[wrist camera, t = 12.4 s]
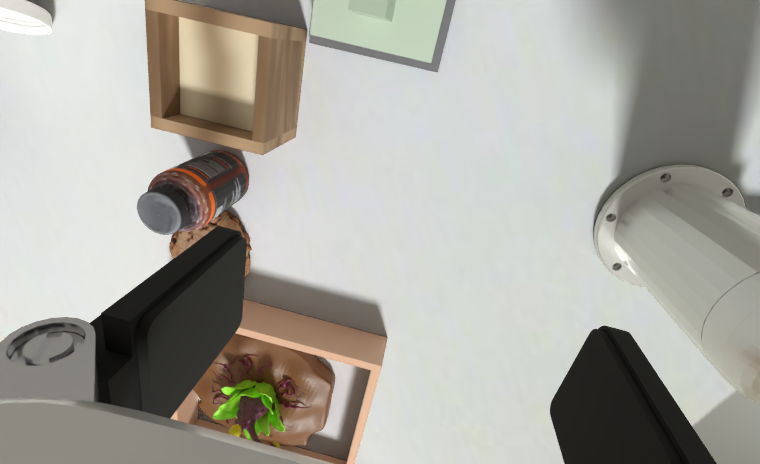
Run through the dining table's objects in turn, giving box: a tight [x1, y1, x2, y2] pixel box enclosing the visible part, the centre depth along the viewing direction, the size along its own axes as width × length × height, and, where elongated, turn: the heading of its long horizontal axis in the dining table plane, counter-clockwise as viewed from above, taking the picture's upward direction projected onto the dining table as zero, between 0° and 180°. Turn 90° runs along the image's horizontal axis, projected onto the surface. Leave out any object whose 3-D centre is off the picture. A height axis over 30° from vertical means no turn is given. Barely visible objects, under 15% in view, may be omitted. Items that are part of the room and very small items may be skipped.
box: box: [145, 0, 307, 155], centre depth 35 cm, size 10×10×8 cm
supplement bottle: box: [137, 151, 249, 235], centre depth 38 cm, size 6×6×11 cm
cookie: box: [170, 210, 252, 277], centre depth 46 cm, size 10×11×3 cm
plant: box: [193, 333, 335, 448], centre depth 51 cm, size 20×20×11 cm
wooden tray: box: [171, 299, 387, 464], centre depth 53 cm, size 26×26×5 cm
